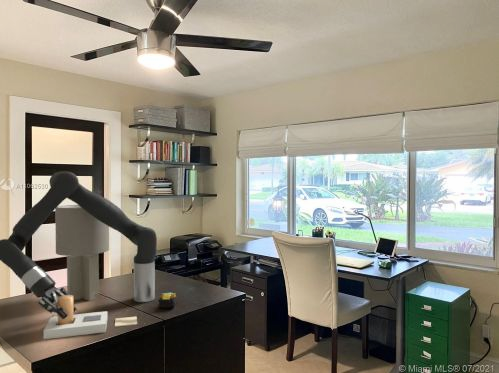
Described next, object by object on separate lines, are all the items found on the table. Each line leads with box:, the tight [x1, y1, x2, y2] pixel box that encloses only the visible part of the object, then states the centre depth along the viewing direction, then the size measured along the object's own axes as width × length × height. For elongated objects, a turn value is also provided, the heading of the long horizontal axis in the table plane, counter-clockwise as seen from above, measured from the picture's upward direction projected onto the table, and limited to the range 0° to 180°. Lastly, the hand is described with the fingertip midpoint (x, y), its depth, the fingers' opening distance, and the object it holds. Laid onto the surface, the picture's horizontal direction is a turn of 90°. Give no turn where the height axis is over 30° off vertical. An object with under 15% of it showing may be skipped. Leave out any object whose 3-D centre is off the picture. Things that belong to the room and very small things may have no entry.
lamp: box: [54, 204, 110, 302], centre depth 178 cm, size 23×23×43 cm
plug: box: [57, 295, 75, 325], centre depth 140 cm, size 5×5×12 cm
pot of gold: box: [158, 292, 178, 309], centre depth 167 cm, size 6×13×6 cm, turn 1°
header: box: [43, 310, 108, 340], centre depth 141 cm, size 14×20×3 cm
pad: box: [114, 316, 138, 328], centre depth 147 cm, size 8×8×1 cm
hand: (70, 314), depth 139 cm, fingers open, 5 cm apart
